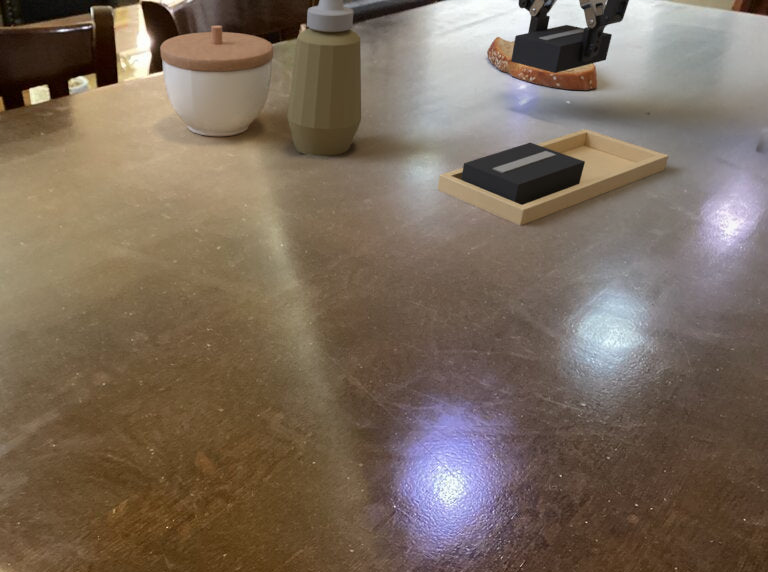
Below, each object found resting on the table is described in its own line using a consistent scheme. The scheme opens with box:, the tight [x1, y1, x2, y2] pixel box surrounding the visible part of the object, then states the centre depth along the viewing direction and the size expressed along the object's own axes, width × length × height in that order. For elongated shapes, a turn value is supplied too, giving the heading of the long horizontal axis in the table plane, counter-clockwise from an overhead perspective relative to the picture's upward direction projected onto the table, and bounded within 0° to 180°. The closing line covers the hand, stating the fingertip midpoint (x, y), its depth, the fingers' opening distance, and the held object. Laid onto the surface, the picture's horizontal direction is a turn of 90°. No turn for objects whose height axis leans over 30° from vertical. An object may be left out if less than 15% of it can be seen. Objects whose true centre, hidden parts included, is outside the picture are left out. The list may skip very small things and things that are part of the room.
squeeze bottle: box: [286, 0, 362, 157], centre depth 85 cm, size 8×8×18 cm
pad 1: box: [511, 24, 613, 73], centre depth 98 cm, size 10×6×3 cm, turn 127°
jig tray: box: [437, 128, 670, 226], centre depth 82 cm, size 24×10×2 cm, turn 127°
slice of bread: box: [486, 36, 598, 91], centre depth 117 cm, size 18×18×4 cm
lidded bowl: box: [159, 25, 274, 137], centre depth 93 cm, size 13×13×11 cm
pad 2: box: [461, 142, 585, 205], centre depth 79 cm, size 10×6×3 cm, turn 127°
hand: (559, 54), depth 99 cm, fingers closed on pad 1, 6 cm apart
